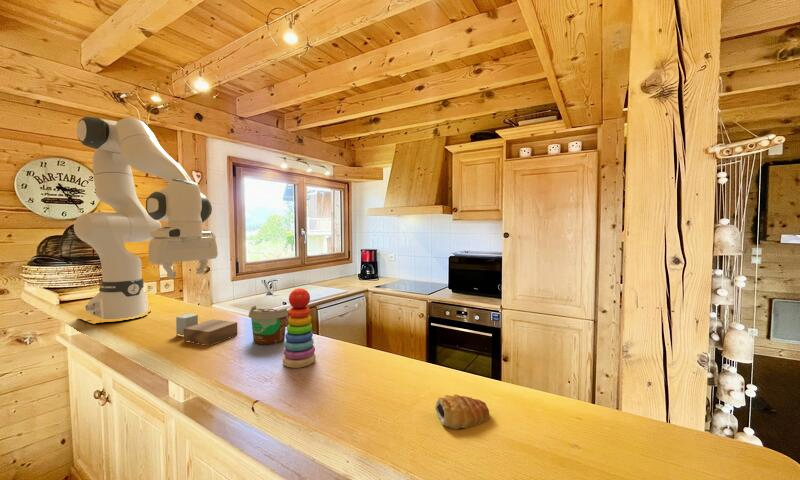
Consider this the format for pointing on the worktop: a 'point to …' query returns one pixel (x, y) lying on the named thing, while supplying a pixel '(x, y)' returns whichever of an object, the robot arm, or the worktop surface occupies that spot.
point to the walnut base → (210, 332)
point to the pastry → (461, 411)
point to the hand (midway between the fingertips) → (186, 275)
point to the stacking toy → (299, 332)
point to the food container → (268, 325)
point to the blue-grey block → (185, 322)
